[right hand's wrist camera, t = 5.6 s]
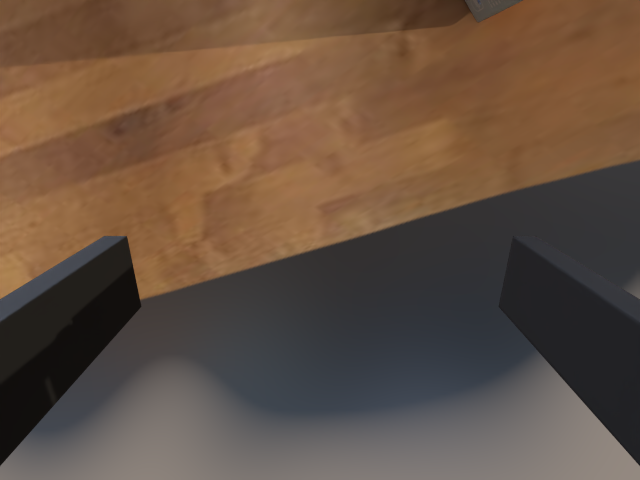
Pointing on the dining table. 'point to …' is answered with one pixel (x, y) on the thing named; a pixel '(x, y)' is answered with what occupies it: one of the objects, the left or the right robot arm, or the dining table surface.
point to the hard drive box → (488, 7)
